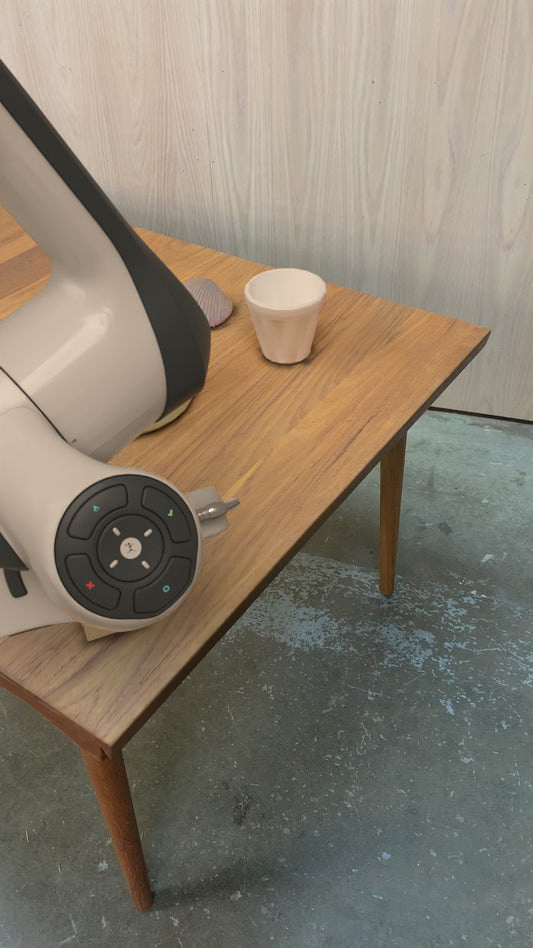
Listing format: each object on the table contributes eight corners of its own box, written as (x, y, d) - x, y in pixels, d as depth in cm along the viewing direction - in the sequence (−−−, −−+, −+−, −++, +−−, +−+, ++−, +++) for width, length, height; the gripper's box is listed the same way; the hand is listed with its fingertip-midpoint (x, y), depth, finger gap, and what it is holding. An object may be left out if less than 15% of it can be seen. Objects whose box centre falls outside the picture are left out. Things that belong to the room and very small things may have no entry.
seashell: (245, 279, 108) (214, 299, 100) (243, 317, 111) (212, 339, 103) (179, 266, 111) (144, 285, 103) (178, 303, 114) (144, 324, 106)
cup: (277, 323, 105) (275, 260, 99) (340, 345, 101) (342, 280, 94) (232, 358, 99) (227, 293, 93) (297, 384, 95) (296, 317, 89)
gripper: (232, 456, 55) (194, 475, 68) (-69, 556, 49) (-46, 555, 62) (261, 542, 55) (217, 544, 68) (-36, 651, 49) (-21, 630, 62)
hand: (90, 550), depth 65 cm, fingers open, 8 cm apart
